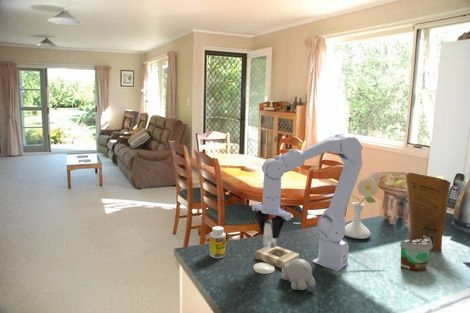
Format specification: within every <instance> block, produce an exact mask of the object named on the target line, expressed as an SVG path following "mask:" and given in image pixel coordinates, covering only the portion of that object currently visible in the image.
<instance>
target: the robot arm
mask: <svg viewBox="0 0 470 313" xmlns="http://www.w3.org/2000/svg"><path fill="white" fill-rule="evenodd" d="M362 150H363V145H362V144H361V141H359V139H358V138H357V137H355V136H348V135H345V134H341V133H339V134H335V135H334V136H333V135H332V136H329V137H327V138H325V139H323V140H322V141H319V142H317V143H315V144H313V145H311V146H309V147H306V148H304V149H302V150H299V149H296V148H295V149H293V148H290V149H288V152H286V153H283V154H281V155H279V154H278V155H275V158H268V159H266V160H264V162H263V164H262V166H261V170H262V172H263V186H262V188H263V189H262V204H259V203H253V204H252V205H251V210H252V211H255V212H256V211H257V212H256V213H255V214H254V216H255V218H256V220H257V222H258V227H259V229H260V234H261V235H264V221H266V220H269V217H270V216H273V217H272V218H271V219H270V220H272V224H273V238H274V239H276V238H277V239H278V238H279V236H280V233H281V231H282V228H283V227H284V224H285V222H286V221H289V220H292V212H288V211H287V210H284V209H283V208H281V192H282V177H283V176H284V175H285V173H289V172H291V171H293V170H295V169H297V168H300V167H302V166H304V165H305V162H306V161H307V160H310V159H312V158H315V157H318V156H321V155H324V154H326V153H332V154H336V155H338V156H339V157H340V160H341V161H342V163H343V167H342V171H341V173H340V176H339V179H338V181H337V185H336V187H335V190H334V192H333V195H332V199H331V201H330V204H329V207H328V208H327V209H325V210H324V211H323V212H322V213H323V214H322V215H321V216H320V217H319V218H318V220H317V223H316V225H317V228H318V230H319V237H318V239H319V240H318V256H317V258H315V259H313V260H312V262H313V263H314V264H317V265H320V266H322V267H325V268H328V269H330V270H331V269H332V270H334V271H336V272H339V271H340V270H341V269H343V268H345V267H346V266H347V265H348V264H349V261H348V260H349V248H350V247H349V243H348V242H346V241H344V240H343V238H344V237H345V236H346V235H345V226H346V225H347V219H346V216H345V213H346V212H347V211H346V210H347V207H348V206H349V202H350V200H351V198H352V196H353V192H354V189H355V186H356V184H357V180H358V178H359V175H360V172H361V170H362V167H363V156H362Z"/></svg>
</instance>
